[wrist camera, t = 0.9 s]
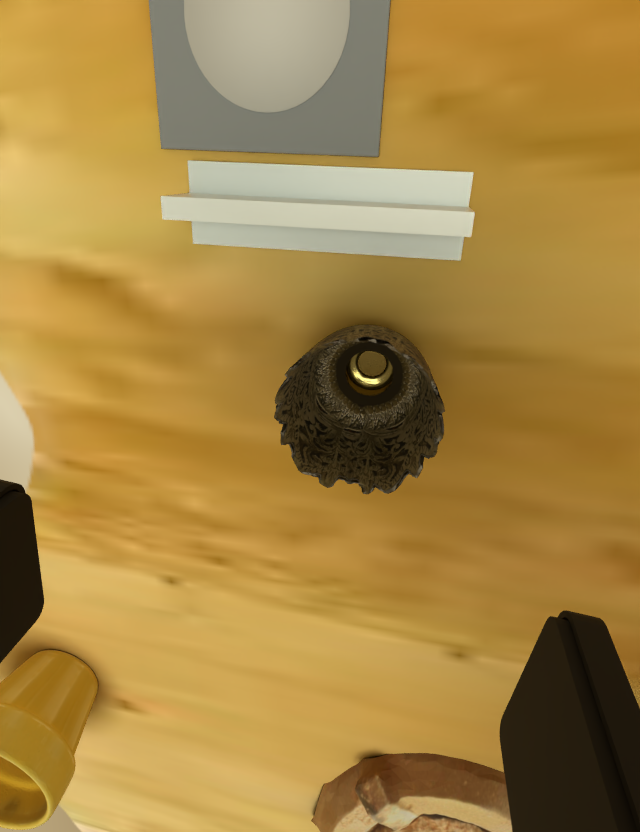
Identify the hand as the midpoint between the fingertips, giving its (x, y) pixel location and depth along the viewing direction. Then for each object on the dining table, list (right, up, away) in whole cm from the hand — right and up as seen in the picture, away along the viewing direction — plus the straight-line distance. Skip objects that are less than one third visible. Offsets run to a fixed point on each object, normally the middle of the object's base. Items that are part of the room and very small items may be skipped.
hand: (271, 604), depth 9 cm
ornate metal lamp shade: (+4, +6, +21) cm, 22 cm away
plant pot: (-22, -20, +38) cm, 48 cm away
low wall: (+1, +14, +17) cm, 22 cm away
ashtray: (+12, -34, +39) cm, 53 cm away
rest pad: (-1, +21, +14) cm, 26 cm away
